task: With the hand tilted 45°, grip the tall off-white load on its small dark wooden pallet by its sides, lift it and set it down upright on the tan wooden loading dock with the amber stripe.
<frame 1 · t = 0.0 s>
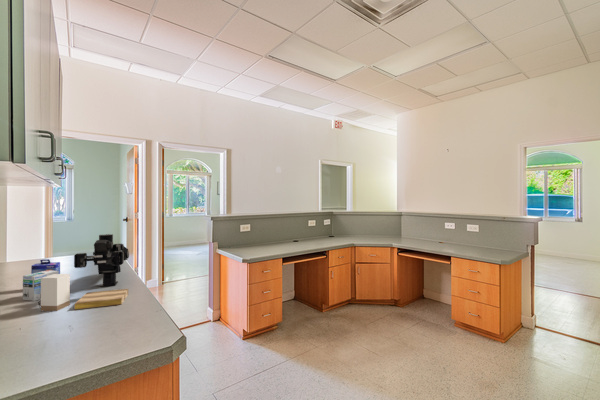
hand: (94, 263, 122), 17 cm above the worktop, tool horizontal, fingers open, 9 cm apart
dock: (103, 301, 122), on the worktop
light bulb box: (41, 297, 127), on the worktop
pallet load: (55, 307, 114), on the worktop
ink cartridge box: (45, 288, 140), on the worktop
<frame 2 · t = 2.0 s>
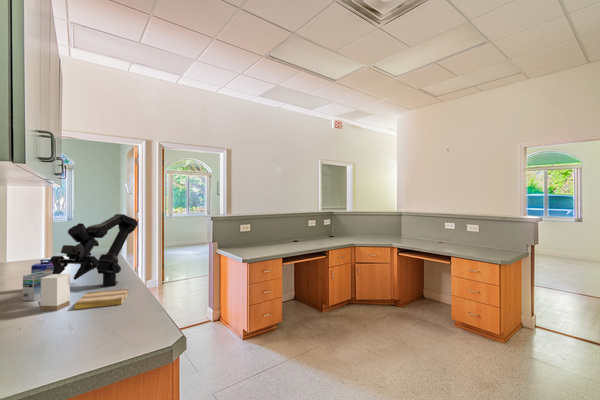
hand: (63, 279, 118), 11 cm above the worktop, tool tilted 45°, fingers open, 9 cm apart
nothing on the worktop moved.
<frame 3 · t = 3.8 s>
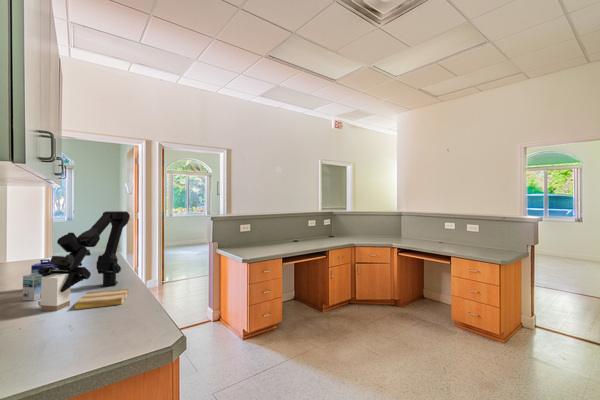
hand: (52, 291, 113), 7 cm above the worktop, tool tilted 45°, fingers closed on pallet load, 7 cm apart
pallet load: (55, 307, 114), on the worktop, touching gripper
everything else where it was.
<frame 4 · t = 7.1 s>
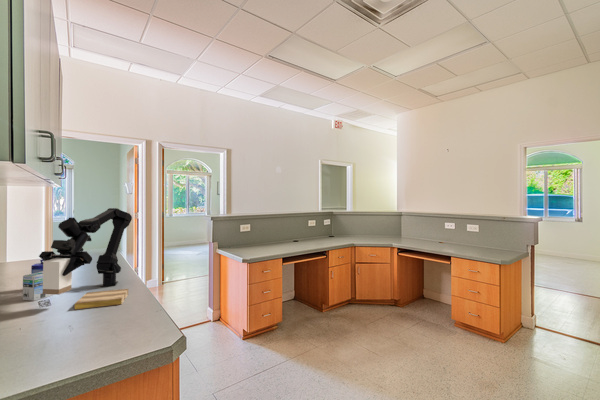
hand: (54, 275, 113), 14 cm above the worktop, tool tilted 45°, fingers closed on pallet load, 7 cm apart
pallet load: (57, 291, 114), point 6 cm above the worktop, touching gripper
everything else where it was.
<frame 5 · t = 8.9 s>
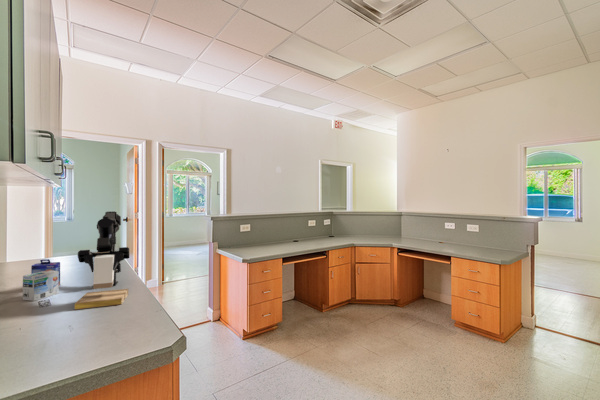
hand: (103, 270, 120), 14 cm above the worktop, tool tilted 45°, fingers closed on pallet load, 7 cm apart
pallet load: (103, 286, 122), point 7 cm above the worktop, touching gripper
everything else where it was.
when the fingers open (10 cm above the worktop, at t = 10.4 s): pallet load stays where it is, resting on dock.
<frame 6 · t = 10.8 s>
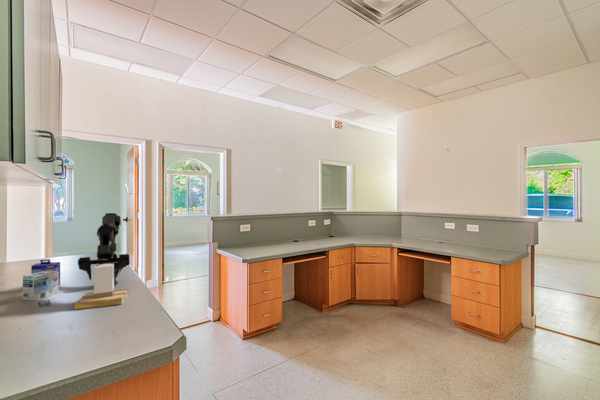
hand: (103, 278, 121), 10 cm above the worktop, tool tilted 45°, fingers open, 9 cm apart
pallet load: (104, 295, 122), point 3 cm above the worktop, touching dock
everything else where it was.
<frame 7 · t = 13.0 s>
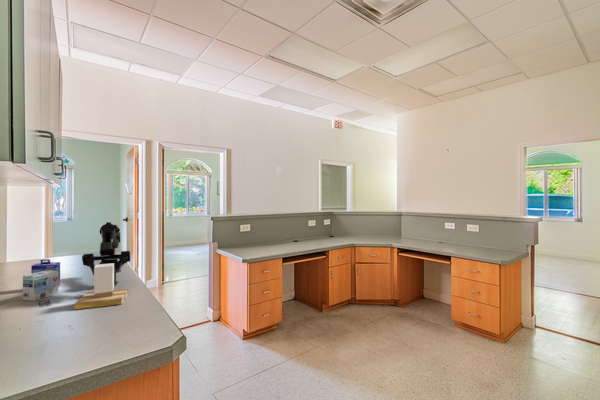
hand: (105, 273, 129), 10 cm above the worktop, tool tilted 45°, fingers open, 9 cm apart
nothing on the worktop moved.
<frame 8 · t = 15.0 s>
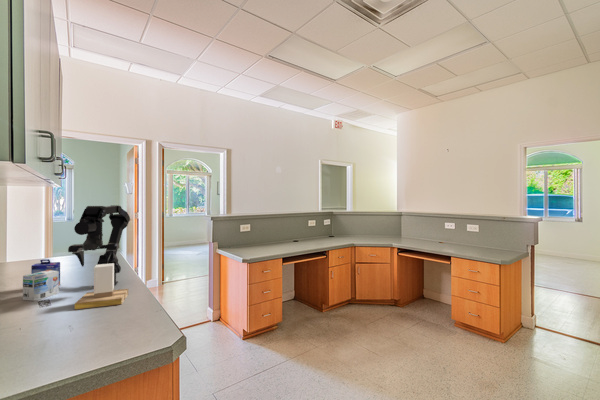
hand: (94, 265, 132), 13 cm above the worktop, tool pointing down, fingers open, 9 cm apart
nothing on the worktop moved.
at the end: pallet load inside the target area on the dock (0.3 cm from its centre), point 2.5 cm above the dock's base; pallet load tilted 0°; the gripper is holding nothing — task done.
